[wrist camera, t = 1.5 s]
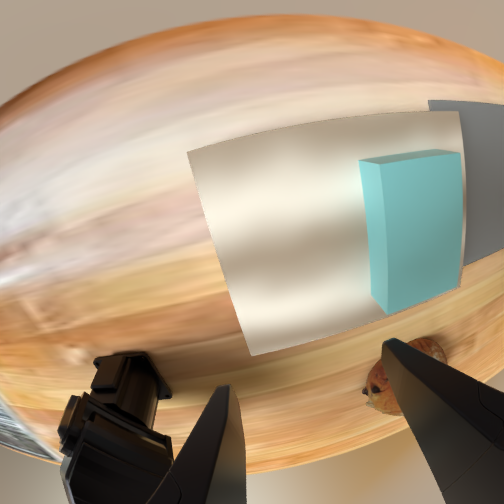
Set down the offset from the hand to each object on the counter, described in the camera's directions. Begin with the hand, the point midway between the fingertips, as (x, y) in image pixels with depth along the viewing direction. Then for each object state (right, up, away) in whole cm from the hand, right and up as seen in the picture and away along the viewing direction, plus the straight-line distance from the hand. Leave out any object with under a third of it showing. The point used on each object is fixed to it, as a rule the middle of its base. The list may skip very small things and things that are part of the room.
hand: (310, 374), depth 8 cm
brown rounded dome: (+15, -10, +20) cm, 27 cm away
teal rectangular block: (+8, +6, +8) cm, 13 cm away
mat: (+21, +10, +11) cm, 26 cm away
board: (+5, +6, +12) cm, 14 cm away
